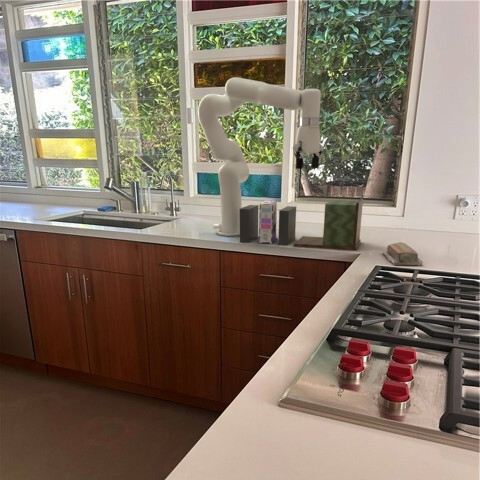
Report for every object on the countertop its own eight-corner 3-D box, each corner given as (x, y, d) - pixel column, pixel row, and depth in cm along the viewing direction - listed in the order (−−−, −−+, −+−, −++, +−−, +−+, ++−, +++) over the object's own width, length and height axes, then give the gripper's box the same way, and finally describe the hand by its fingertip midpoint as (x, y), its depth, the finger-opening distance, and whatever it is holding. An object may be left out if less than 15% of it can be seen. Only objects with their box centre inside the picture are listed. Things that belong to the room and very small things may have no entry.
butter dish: (424, 252, 157) (394, 252, 157) (422, 266, 158) (393, 265, 159) (410, 241, 173) (383, 241, 174) (408, 254, 175) (381, 253, 176)
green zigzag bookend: (293, 246, 189) (295, 200, 183) (302, 238, 204) (304, 196, 198) (356, 250, 182) (360, 203, 175) (360, 242, 197) (364, 198, 190)
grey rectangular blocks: (239, 242, 198) (239, 208, 193) (249, 236, 210) (249, 204, 205) (287, 245, 192) (288, 210, 187) (295, 238, 204) (296, 206, 199)
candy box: (272, 243, 194) (273, 203, 188) (258, 243, 195) (258, 203, 189) (276, 237, 207) (277, 199, 201) (263, 237, 208) (264, 199, 202)
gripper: (316, 124, 193) (314, 167, 199) (287, 123, 182) (286, 168, 188) (330, 123, 188) (327, 168, 194) (302, 122, 177) (299, 169, 183)
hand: (307, 168), depth 191 cm, fingers open, 9 cm apart
